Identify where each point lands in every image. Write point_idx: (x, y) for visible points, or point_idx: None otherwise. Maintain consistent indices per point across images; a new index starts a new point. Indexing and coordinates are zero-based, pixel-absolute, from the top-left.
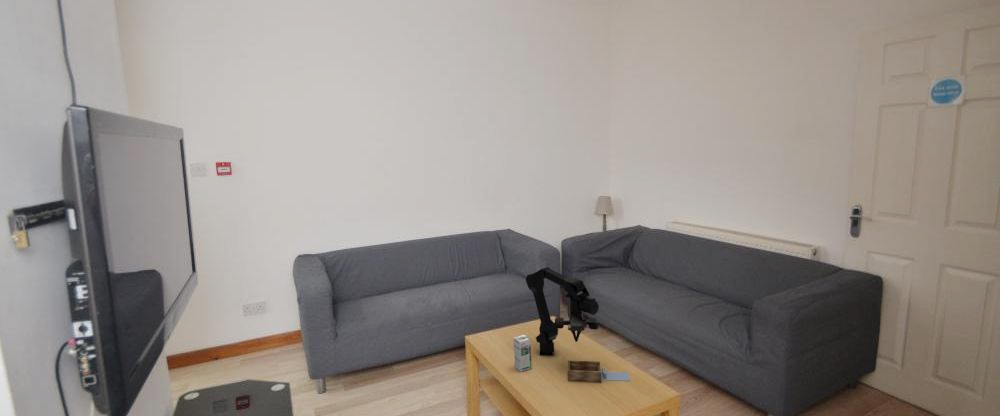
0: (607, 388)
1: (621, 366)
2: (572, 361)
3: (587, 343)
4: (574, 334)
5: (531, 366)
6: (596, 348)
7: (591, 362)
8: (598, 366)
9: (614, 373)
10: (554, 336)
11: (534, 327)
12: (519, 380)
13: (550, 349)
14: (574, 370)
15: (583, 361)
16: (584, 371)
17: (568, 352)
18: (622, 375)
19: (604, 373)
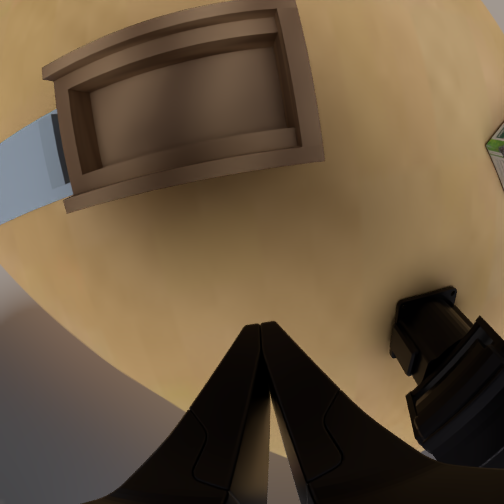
0: (54, 40)
1: (33, 276)
2: (278, 150)
3: None
4: (314, 420)
5: (493, 146)
6: (182, 404)
7: (116, 183)
8: (77, 172)
9: (33, 194)
10: (439, 391)
11: None
12: (496, 45)
13: (420, 326)
14: (237, 10)
15: (179, 175)
16: (151, 21)
17: (315, 354)
18: (6, 188)
19: (45, 117)
